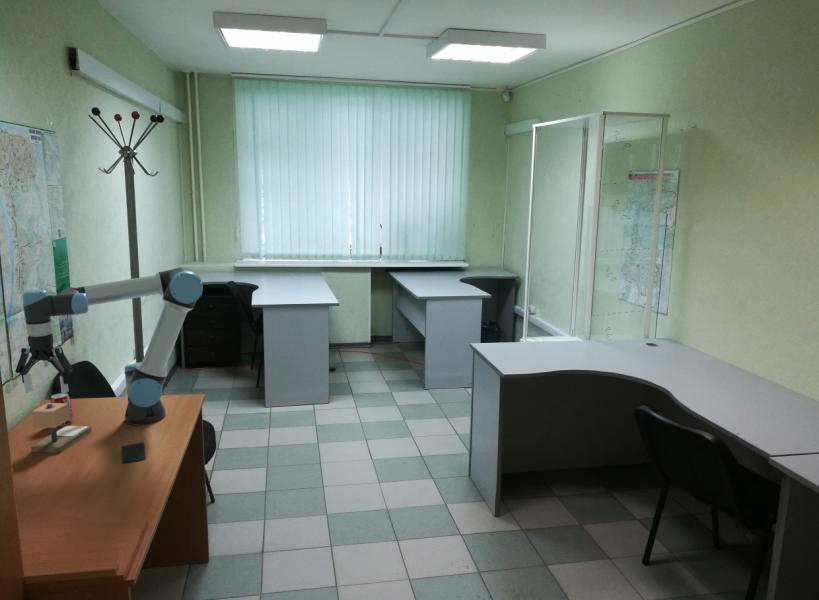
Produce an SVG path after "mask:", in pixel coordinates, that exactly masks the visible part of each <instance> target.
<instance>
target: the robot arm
mask: <svg viewBox="0 0 819 600" xmlns="http://www.w3.org/2000/svg"><path fill="white" fill-rule="evenodd" d="M203 288H204V286H203V281H202V279H201V277H200V276H199V275H198V274H197V273H196V272H194V271H193V270H192V269H189V268H187V267H177V268H173V269H168V270H164V271H163V270H162V271H157V272H156V274H154V275H149V276H142V277H136V278H128V279H123V280H117V281H110V282H102V283H97V284H91V285H85V286H77V287H74V286H69V287H66V288H64V289H62V290H61V292H60V293H59V294H49V293H48V291H47V290H46V289H32V290H26V291H25V292H23V293H22V303H23V305H22V307H23V313H24V320H25V321H24V322H25V327H26V334H27V335H28V336H27V342H28V343H27V344H28V345H27V346H24V347H22V348H21V349H20V350H21V351H20V357H19V360H18V362H17V365H16V367H15V371H14V372H15V373H16V374H20V375H21V380H22V381H21V382H22V383H23V384H24V391H25V393H26V394H28V393H30V392H32V391H34V389H33V379H32V374H31V372H30V371H31V369H32V368H33V366H34V365H35V363H36V362H37V361H43V362H44V361H47V362H48V363H50V364H51V365H52V366H53V367H54V369H55V370H56V371H57V372H58V373H59V374H60V376H59V382H60V389H61V390H60V393H62V394H64V393H68V392H69V383H70V377H69V375H70V374H72V373H74V372H75V371H74V368H73V367H72V365H71V363H70V362H69V359H68V358H67V356H66V355H65V353H64V350H63V347H62V346H59V347H55V348H54V335H53V333H52V332H53V326H52V320H51V317H62V316H72V315H73V316H74V315H75V316H76V315H77V316H79V315H82V314H83V315H84V314H88V312H89V306H96V305H100V304H107V303H114V302H119V301H126V300H131V299H137V298H143V297H149V296H154V295H155V296H156V295H159V296H161V297H162V301H163V303H164V305H163V308H162V310H161V314H160V316H159V318H158V320H157V323H156V325H155V329H154V330H153V333H152V337H151V339H150V342H149V344H148V346H147V348H146V351H145V354H144V357H143V358H142V361H140V362H134V363H129V364H127V365H125V367H124V372H123V373H124V375H125V376H124V378H125V386H126V394H127V397H126V398H127V406H126V409H125V413H124V419H125V420H124V421H126V422H127V423H126V422H125V423H126V424H128V423H129V425H133V424H134V425H136V426H137V425H138V426H139V425H140V426H141V425H145V424H146V425H148V424H152V423H155V421H156V422H158V421H160V419H161V420H162V419H164V418H165V417H166V415H167V413H166V408H165V406H164V404H163V402H162V400H161V398H162V395H163V387H164V384H165V382H166V378H167V376H168V374H167V372H166V368H167V365H168V362H169V360H170V358H171V355H172V352H173V349H174V347H175V345H176V341H177V340H178V337H179V335H180V331H181V330H182V327H183V324H184V322H185V319H186V317H187V314H188V313H189V312H190V311H192V310H193V309H194V308H195V305H196V302H197V300H199V299H200V297H201V296H202V294H203V291H204V289H203ZM28 358H29V359H28ZM164 416H165V417H164ZM163 417H164V418H163ZM157 420H158V421H157ZM151 422H152V423H151ZM147 423H148V424H147Z"/></svg>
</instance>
